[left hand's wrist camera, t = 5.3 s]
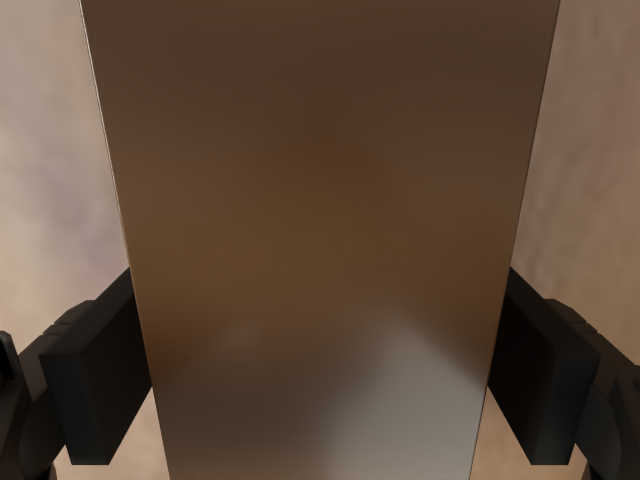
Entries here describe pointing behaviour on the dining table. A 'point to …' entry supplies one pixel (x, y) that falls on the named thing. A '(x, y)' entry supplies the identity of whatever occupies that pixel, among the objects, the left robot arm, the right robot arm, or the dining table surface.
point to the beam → (319, 221)
